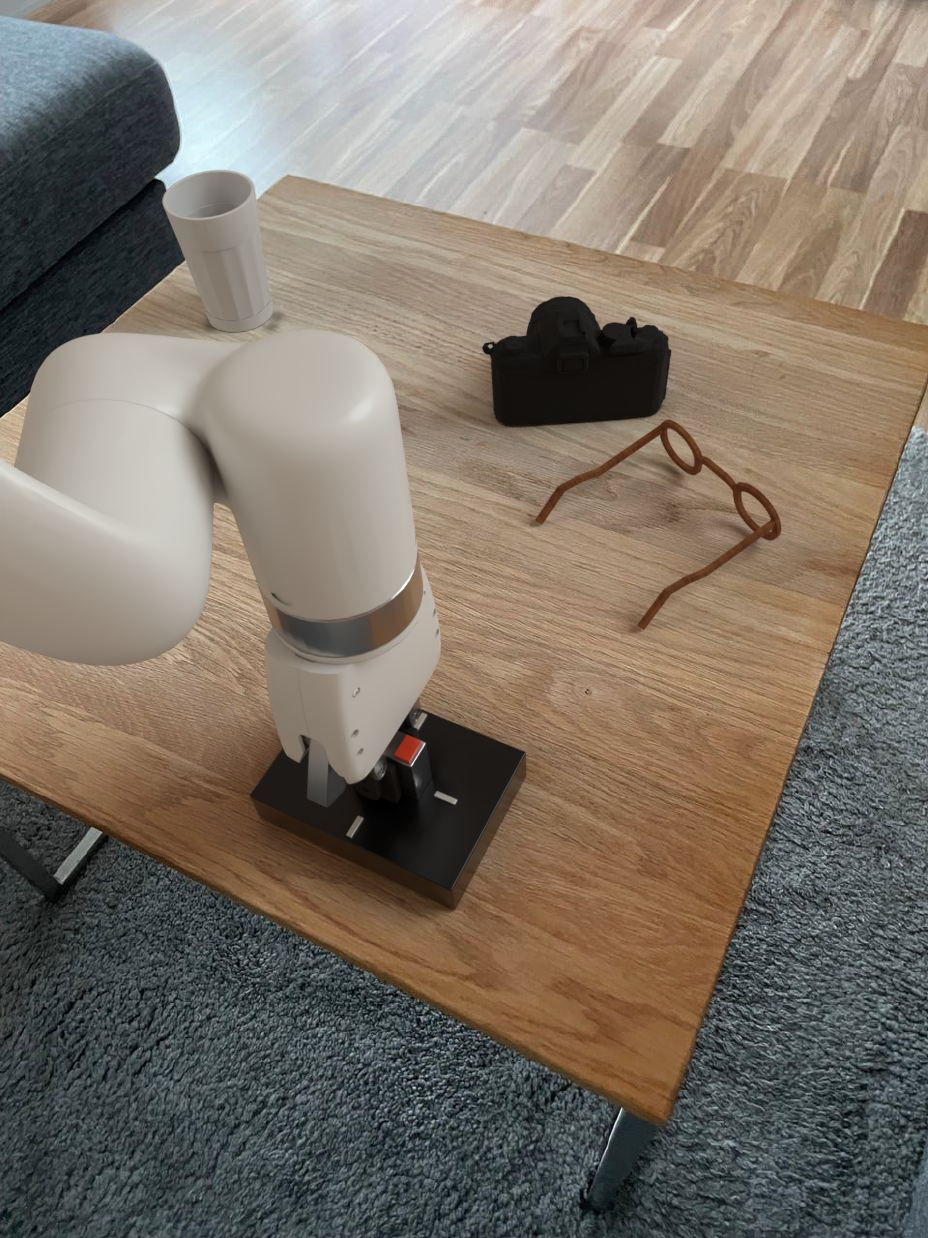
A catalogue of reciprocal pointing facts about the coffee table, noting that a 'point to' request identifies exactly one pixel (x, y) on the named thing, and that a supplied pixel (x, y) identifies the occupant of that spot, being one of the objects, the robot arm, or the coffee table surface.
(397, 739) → the hob knob
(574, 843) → the coffee table surface
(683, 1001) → the coffee table surface
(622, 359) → the film camera
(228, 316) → the cup
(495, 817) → the black square plate
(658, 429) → the glasses
